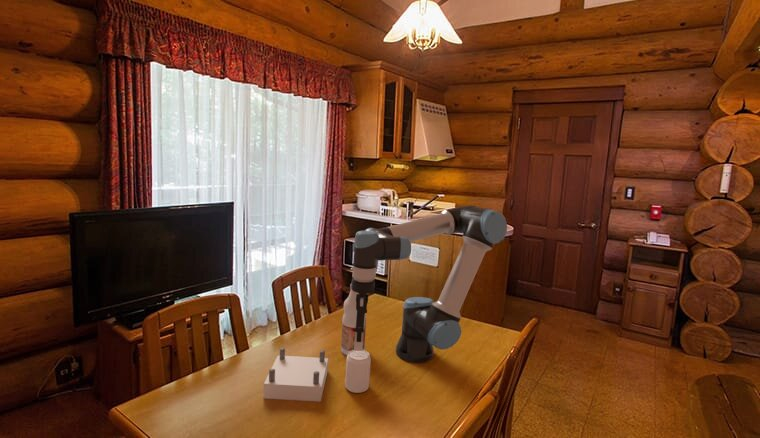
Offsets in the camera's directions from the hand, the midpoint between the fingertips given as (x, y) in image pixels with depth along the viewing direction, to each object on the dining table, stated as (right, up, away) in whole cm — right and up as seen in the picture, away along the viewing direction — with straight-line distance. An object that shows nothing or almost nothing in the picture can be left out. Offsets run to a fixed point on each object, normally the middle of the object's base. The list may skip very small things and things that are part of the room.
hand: (359, 340), depth 132 cm
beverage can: (-1, -17, +3) cm, 17 cm away
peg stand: (-21, -15, +2) cm, 26 cm away
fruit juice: (-4, -13, +27) cm, 31 cm away
